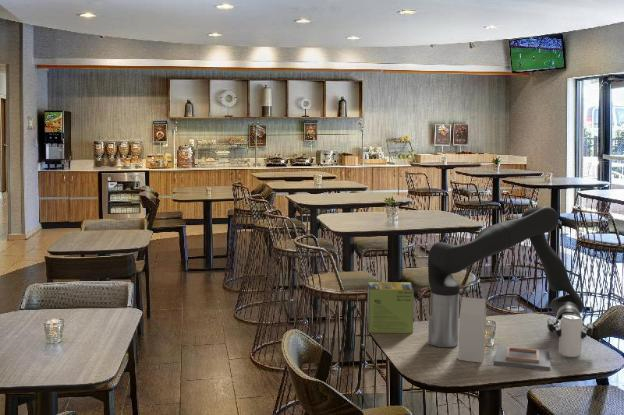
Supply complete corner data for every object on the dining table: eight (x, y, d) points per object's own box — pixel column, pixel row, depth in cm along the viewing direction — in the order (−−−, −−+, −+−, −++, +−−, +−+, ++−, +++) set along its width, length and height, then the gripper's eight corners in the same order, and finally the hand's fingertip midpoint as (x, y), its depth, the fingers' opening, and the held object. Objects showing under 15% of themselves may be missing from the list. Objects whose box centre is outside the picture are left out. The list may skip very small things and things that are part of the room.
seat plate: (494, 364, 209) (494, 358, 209) (497, 348, 223) (497, 342, 223) (550, 370, 204) (550, 364, 204) (549, 353, 218) (549, 348, 218)
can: (570, 358, 210) (573, 320, 208) (553, 352, 216) (556, 314, 214) (585, 355, 213) (588, 317, 211) (568, 348, 219) (571, 312, 217)
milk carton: (481, 363, 210) (484, 302, 207) (458, 360, 212) (460, 300, 210) (484, 355, 217) (486, 296, 214) (461, 352, 219) (463, 294, 216)
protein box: (413, 333, 238) (414, 289, 236) (368, 333, 238) (369, 289, 236) (409, 324, 249) (410, 281, 246) (366, 323, 249) (367, 281, 247)
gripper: (546, 305, 229) (547, 320, 213) (593, 309, 225) (597, 325, 209) (545, 327, 230) (545, 343, 214) (591, 332, 226) (595, 348, 210)
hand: (571, 334), depth 212 cm, fingers closed on can, 6 cm apart
